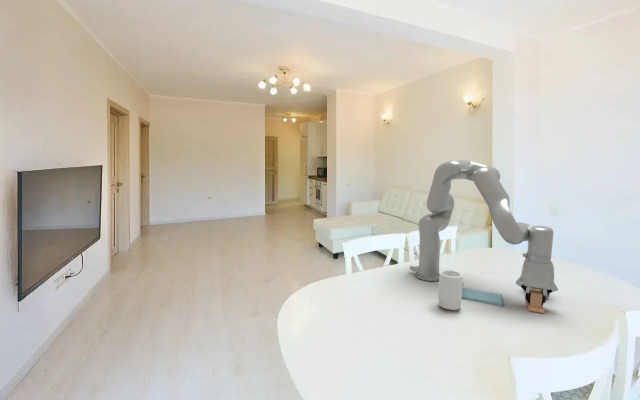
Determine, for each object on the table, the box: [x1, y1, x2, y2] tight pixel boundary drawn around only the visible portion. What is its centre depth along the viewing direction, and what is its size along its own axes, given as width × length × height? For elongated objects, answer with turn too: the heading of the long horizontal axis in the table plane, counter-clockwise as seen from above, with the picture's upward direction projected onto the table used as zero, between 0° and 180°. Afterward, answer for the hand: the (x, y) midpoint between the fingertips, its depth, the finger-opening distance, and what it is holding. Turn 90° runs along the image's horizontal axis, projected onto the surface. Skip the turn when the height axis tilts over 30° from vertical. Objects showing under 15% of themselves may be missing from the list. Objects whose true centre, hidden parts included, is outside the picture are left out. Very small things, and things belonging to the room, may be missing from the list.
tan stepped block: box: [524, 288, 545, 314], centre depth 118 cm, size 5×10×6 cm, turn 152°
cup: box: [438, 269, 464, 311], centre depth 117 cm, size 8×8×14 cm
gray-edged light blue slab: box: [462, 287, 504, 307], centre depth 128 cm, size 18×13×3 cm
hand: (534, 302), depth 118 cm, fingers closed on tan stepped block, 3 cm apart
